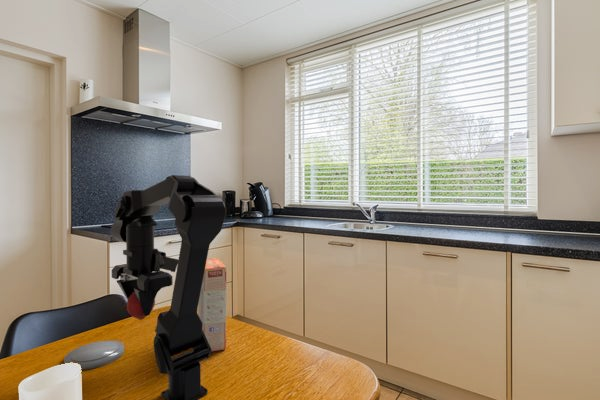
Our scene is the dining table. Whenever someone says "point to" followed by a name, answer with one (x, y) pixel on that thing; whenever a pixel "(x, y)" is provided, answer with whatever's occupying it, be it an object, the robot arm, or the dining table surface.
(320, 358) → the dining table surface
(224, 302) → the cracker box
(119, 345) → the plate
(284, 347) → the dining table surface
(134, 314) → the onion
